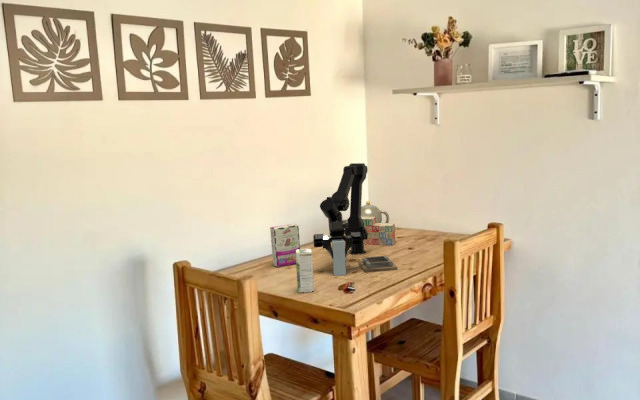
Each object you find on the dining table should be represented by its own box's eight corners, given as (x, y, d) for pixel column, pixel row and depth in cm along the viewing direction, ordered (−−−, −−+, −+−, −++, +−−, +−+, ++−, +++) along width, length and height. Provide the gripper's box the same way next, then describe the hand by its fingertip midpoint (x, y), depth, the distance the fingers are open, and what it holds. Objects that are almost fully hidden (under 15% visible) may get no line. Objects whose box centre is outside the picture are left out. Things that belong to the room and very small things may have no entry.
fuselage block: (333, 272, 228) (331, 240, 226) (345, 271, 228) (343, 239, 226) (334, 275, 224) (332, 242, 222) (346, 275, 224) (344, 241, 222)
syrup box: (297, 288, 210) (294, 249, 208) (313, 287, 211) (311, 247, 208) (297, 293, 205) (295, 252, 202) (314, 291, 205) (312, 251, 203)
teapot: (351, 235, 293) (350, 203, 291) (357, 229, 306) (356, 199, 304) (387, 235, 288) (386, 203, 286) (392, 230, 301) (390, 198, 298)
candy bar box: (296, 260, 249) (294, 223, 247) (301, 263, 245) (299, 224, 242) (272, 265, 244) (269, 226, 242) (276, 267, 240) (274, 228, 237)
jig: (358, 264, 238) (357, 257, 238) (389, 261, 240) (389, 254, 240) (364, 272, 226) (364, 265, 225) (397, 269, 227) (397, 262, 227)
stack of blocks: (395, 242, 273) (394, 216, 272) (392, 245, 268) (391, 219, 266) (352, 241, 281) (351, 216, 279) (348, 244, 275) (346, 218, 274)
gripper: (312, 214, 226) (314, 248, 217) (360, 211, 227) (364, 245, 217) (312, 229, 235) (315, 263, 226) (358, 227, 236) (363, 260, 226)
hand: (339, 258), depth 224 cm, fingers closed on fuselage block, 4 cm apart
